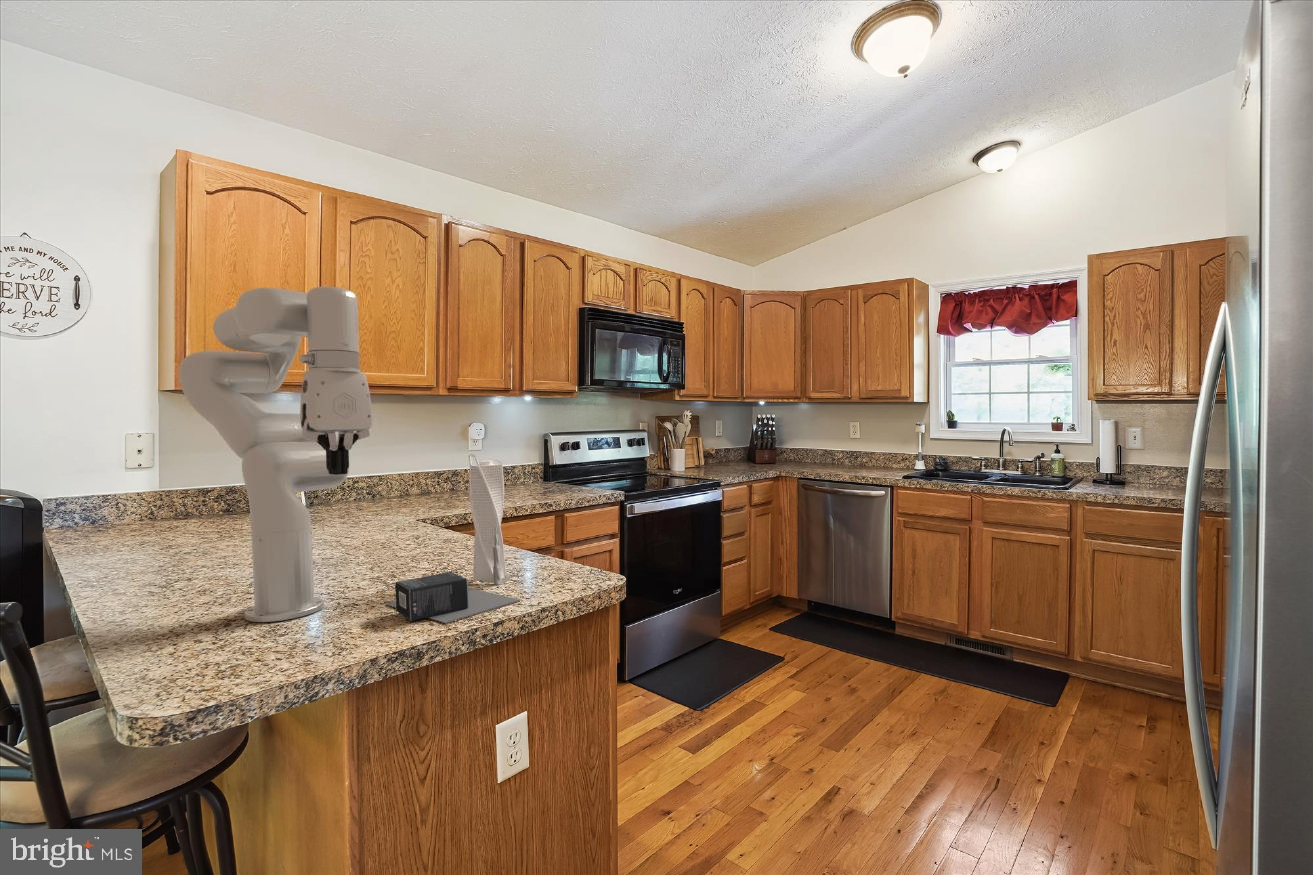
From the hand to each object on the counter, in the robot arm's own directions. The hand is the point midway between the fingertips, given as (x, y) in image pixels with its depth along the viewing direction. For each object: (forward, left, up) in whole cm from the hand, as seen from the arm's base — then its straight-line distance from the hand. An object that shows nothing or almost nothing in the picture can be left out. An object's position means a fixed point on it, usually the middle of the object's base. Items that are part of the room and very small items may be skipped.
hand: (338, 473), depth 102 cm
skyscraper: (-7, +34, -27) cm, 44 cm away
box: (+3, +9, -23) cm, 25 cm away
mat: (+2, +19, -26) cm, 33 cm away
